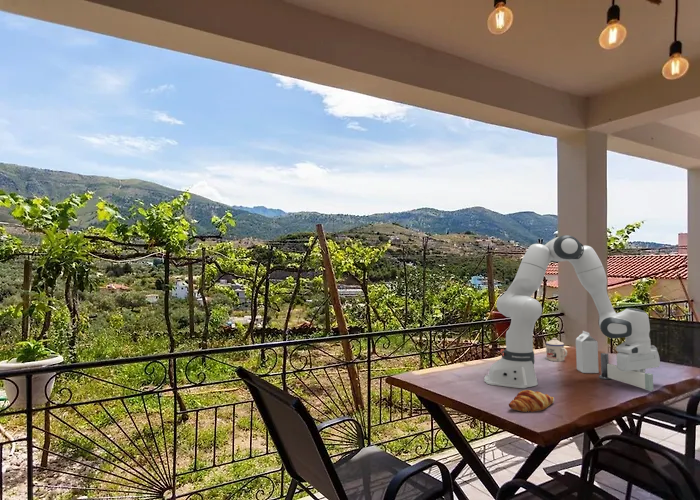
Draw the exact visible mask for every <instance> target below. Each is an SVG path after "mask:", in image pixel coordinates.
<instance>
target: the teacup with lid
mask: <svg viewBox="0 0 700 500" xmlns="http://www.w3.org/2000/svg"><path fill="white" fill-rule="evenodd" d="M545 348H546V360H548V361H550V362H564V361H565V358H566V357H567V355H568V350H567V348H565V343H564V342H562V341H560V340H558V338H557V337H553V338H552V339H550V340H549V341H548V340H547V341H545Z"/></svg>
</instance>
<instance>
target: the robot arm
mask: <svg viewBox="0 0 700 500" xmlns="http://www.w3.org/2000/svg"><path fill="white" fill-rule="evenodd" d="M560 262H568V263H570V264H571V265H572V267H573V269H574V272H575V274H576V277H577V279H578V281H579V282H580V284H581V285H582V287H583V288H584V289H585V291H587V292H588V294H589V295H590V296H591V299H592V300H593V302H594V305H595V307H596V310H597V313H598V327H599V329H600V331H601V333H602V334H603V335H604V336H605V337H607V338H610V339H620V338H621V339H622V338H624V340H625V341H623V342H622V343H621V344H619V345H617V346H616V352H617V353H616V365H617V368H618V369H619V370H621V371H625V372H627V371H634V370H635V371H638V372H642V373H646V370H648V369H649V370H650V369H654V368H656V369H657V368H659V367H660V365H661V361H660V360H661V359H660V355H659V352H658V348H657V347H656V346H655V345H653V344H651V343H652V342H651V337H650V332H651V327H650V325H651V324H650V319H649V315H648V313H647V312H646V311H645V310H642V309H639V308H633V307H627V308H625V309H623V310H622V311H620V312H616V310H615V308H614V307H613V305H612V301H611V299H610V298H609V294H608V291H607V285H608V278H607V273H606V270H605V267H604V265H603V264H602V261H601V259H600V258H599V256H598V254H597V252H596V251H595V249H594V248H593V247H592V246H590V245H583V244H582V243H581V242H580V240H578V239H577V238H576V237H574V236H572V235H570V234H569V235H568V234H567V235H560V236H558V237H554V238H552V239H550V240H549V241H547V242H545V244H542V243H533V244H531V245H529V247H528V248H527V250H526V251H525V253H524V256H523V257H522V259H521V262H520V265H519V267H518V269H517V272H516V274H515V277H514V279H513V281H512V282H511V283H510V285H509V286H508V288H507V289H506V290H505V292H504V293H503V294H502V295H500V296H499V297H498V298H497V300H496V305H495V306H496V309H497V310H498V312H499V313H500V314H501V315H503V316H504V317H506V318H510V319H511V321H510V325H509V328H508V330H506V333H505V349H504V348H501V349H500V354H501V358H500V359H498V360H497V361H495V362H494V363H492V364H491V366H490V368H489V370H488V374H485V376H484V378H483V379H484V380H483V381H484V383H485V382H486V383H485V384H487V385H490V386H499V387H508V388H515V389H526V388H531V387H536V386H538V385H539V382H538V379H537V375H536V369H535V362H536V361H535V359H536V358H535V351H534V343H533V341H534V339H533V335H534V328H535V324H536V322H537V320H538V319H539V318H540V317H541V316H542V313H543V307H542V304H541V302H539V300H537V299H535V298H533V297H532V295H533V294H534V293H535V292H536V291H538V290H539V288H541V285H542V282H543V280H544V278H545V275H546V272H547V270H548V267H549V264H550V263H560Z"/></svg>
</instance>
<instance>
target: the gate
mask: <svg viewBox="0 0 700 500" xmlns="http://www.w3.org/2000/svg"><path fill="white" fill-rule="evenodd" d="M607 374H608V378H611V380H615V381H618V382H620V383H621V382H622V383H625V384H628V385H632V386H634V387H637V388H640V389H643V390H646V391H649V392H651V391H654V374H653V373H649V372H647V373H646V372H645V373H642V372H638V371H635V370H634V371H627V372H625V371H621V370H619V369H618V368H617V364H612V363H609V364H607Z"/></svg>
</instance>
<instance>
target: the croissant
mask: <svg viewBox="0 0 700 500" xmlns="http://www.w3.org/2000/svg"><path fill="white" fill-rule="evenodd" d="M554 402H555V397H554V396H550V395H549V394H547V393H545V394H544V393H542V392H540V391H533V390H530V389H525V390H524V389H523V390H521V391H519V392H518V393H517V394H516V396H514V399H512V400H511V401H510V402H509V403H508V407H509V408H510V409H511V410H513V411H519V412H523V413H526V412H527V411H528V412H529V411H531V412H533V413H534V411H535V412H539V411H543V410H546V409H547V408H548V407H550V405H552V404H554ZM531 412H530V413H531Z"/></svg>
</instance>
